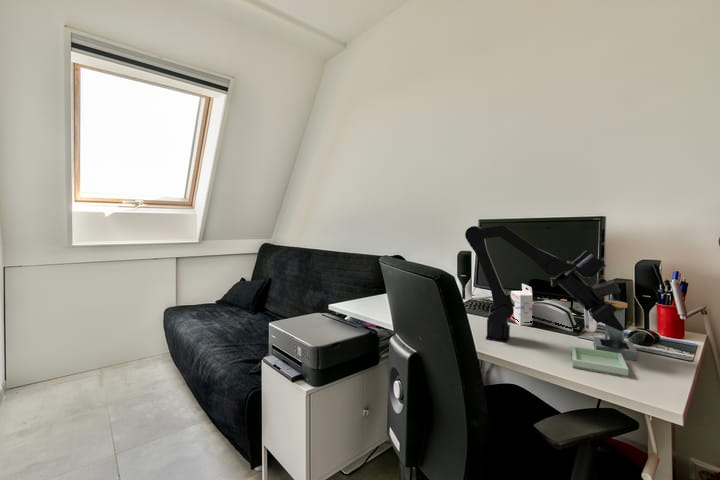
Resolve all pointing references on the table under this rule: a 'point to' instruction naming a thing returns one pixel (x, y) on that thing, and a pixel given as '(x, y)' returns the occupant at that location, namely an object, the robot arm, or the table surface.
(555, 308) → the grey arched block
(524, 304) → the ink cartridge box
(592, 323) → the milkshake
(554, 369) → the table surface
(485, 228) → the robot arm
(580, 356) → the tray
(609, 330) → the grey and gold cylinder
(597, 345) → the frame
